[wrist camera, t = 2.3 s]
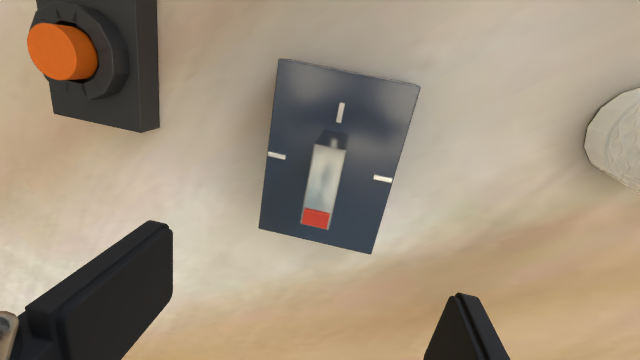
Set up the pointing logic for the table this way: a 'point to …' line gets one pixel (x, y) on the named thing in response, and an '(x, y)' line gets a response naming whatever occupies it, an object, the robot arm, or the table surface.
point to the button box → (110, 62)
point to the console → (361, 156)
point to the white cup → (617, 139)
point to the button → (62, 51)
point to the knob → (324, 178)
